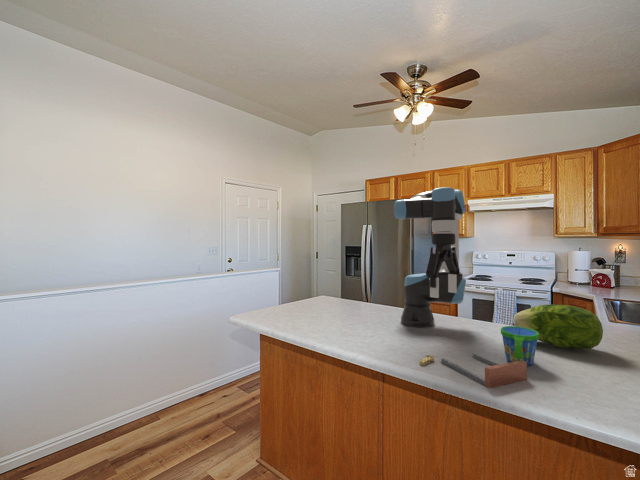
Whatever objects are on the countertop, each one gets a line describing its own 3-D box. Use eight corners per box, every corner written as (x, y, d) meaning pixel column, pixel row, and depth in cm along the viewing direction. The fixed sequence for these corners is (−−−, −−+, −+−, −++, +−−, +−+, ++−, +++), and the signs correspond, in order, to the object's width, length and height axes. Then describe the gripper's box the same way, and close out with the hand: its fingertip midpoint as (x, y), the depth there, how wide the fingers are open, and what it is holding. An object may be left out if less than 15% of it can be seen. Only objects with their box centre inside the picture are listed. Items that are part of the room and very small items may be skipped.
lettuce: (515, 334, 131) (515, 297, 131) (600, 347, 115) (600, 304, 115) (511, 344, 119) (510, 303, 119) (605, 360, 103) (605, 313, 103)
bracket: (474, 356, 107) (474, 341, 107) (526, 379, 89) (526, 362, 89) (441, 362, 102) (441, 347, 102) (489, 387, 85) (489, 369, 85)
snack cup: (536, 374, 93) (536, 339, 93) (496, 365, 100) (495, 333, 100) (541, 358, 105) (541, 327, 105) (505, 351, 112) (505, 322, 112)
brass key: (427, 358, 106) (427, 354, 106) (435, 360, 104) (435, 356, 104) (417, 364, 101) (417, 360, 101) (426, 366, 99) (426, 362, 99)
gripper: (448, 233, 119) (449, 289, 119) (414, 232, 102) (415, 298, 102) (469, 233, 114) (469, 291, 114) (436, 232, 97) (437, 301, 97)
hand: (443, 294), depth 108 cm, fingers open, 13 cm apart
